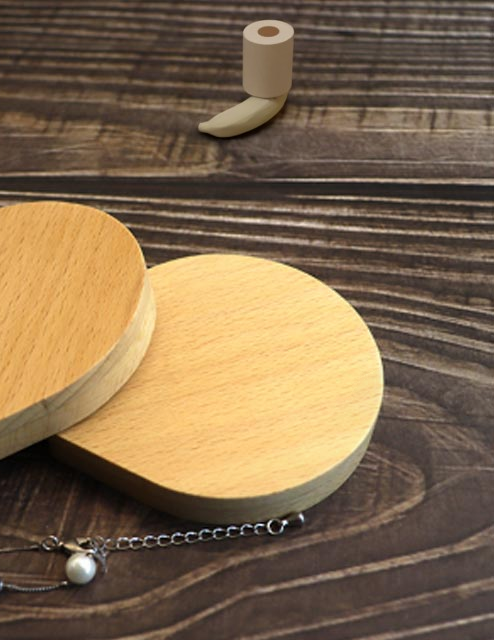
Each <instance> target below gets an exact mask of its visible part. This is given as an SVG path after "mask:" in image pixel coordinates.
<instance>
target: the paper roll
mask: <svg viewBox="0 0 494 640" xmlns="http://www.w3.org/2000/svg"><path fill="white" fill-rule="evenodd" d="M294 40H295V30H294V27H293V26H292V25H291V24H289V23H287V22H285V21H282V20H276V19H264V20H258V21H255V22H252V23H250V24H248V25H246V27H245V28H244V29H243V31H242V89H243V91H245V93H247V94H249V95H250V96H252V95H253V96H256V97H262V98H271V97H277V96H280V95H283V94H285V93H286V92H288V93H289V91H290V90H291V88H292V83H293V82H292V81H293V65H294V64H293V62H294V42H295V41H294Z"/></svg>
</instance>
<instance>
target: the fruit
mask: <svg viewBox="0 0 494 640" xmlns="http://www.w3.org/2000/svg"><path fill="white" fill-rule="evenodd" d="M288 95H289V91H288V92H286V93H285V94H283V95H280V96H277V97H271V98H262V97H256V96H253V95H250V97H248V98H246V99H245V100H243V101H242V102H240V103H238V104H236V105H234V106H232V107H230V108H228V109H226V110H223V111H222V112H220V113H218V114H215V115H214V116H213V117H212V118H211V119H209V120H207V121H203V122H199V124H198V131H199V132H200V133H206V134H209V135H211V136H213V137H217V138H230V137H234V136H235V137H236V136H239V135H242V134H244V133H246V132H250V131H253V130H254V129H256V128H258V127H260V126H262V125H263V124H265V123H267V122H268V121H269V120H270V119H273V117H275V116H276V115H277V114H278V113H279V112H280V111H281V109H282V108H283V107H284V105H285V103H286V101H287V98H288Z"/></svg>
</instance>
